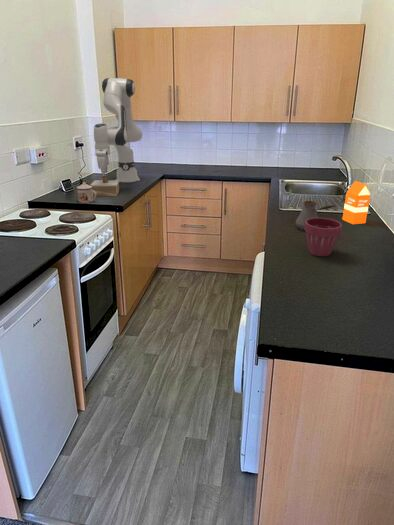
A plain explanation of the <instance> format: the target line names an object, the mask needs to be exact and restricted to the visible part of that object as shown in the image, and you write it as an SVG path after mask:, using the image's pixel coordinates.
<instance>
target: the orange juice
mask: <svg viewBox="0 0 394 525" xmlns="http://www.w3.org/2000/svg"><path fill="white" fill-rule="evenodd" d="M370 200H371V192H370V191H369V188H368V186H367V183H362V182H360V181H357V180H354V182H353V183H352V184H351V186H350V187H349V188H348V189H347V191H346V194H345V200H344V206H343V214H342V217H341V218H342V220H343V221H344V222H346V223H349V224H351V225H359V224H366V222H367V218H368V217H367V216H368V212H369V204H370Z"/></svg>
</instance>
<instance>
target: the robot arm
mask: <svg viewBox="0 0 394 525" xmlns="http://www.w3.org/2000/svg"><path fill="white" fill-rule="evenodd" d="M101 89H102V93H103V102H102V103H103V106H104V108H105V109H106V110H107V111H108V112H109V113H112V114H113V115H115V117H116V119H117V120H118V126H112V127H108V126H107V124H106V123H96V124H95V125H93V140H94V149H95V150H94V154H95V155H94V156H95V157H96V162H97V167H98V169H100V171H101V176H106V174H107V173H108V166H109V165H110V159H109V158H110V157H109V156H110V155H111V150H110V146H114V147H115V148H116V151H117V157H118V158H117V159H118V162H117V166H118V168H117V169H116V178H115V179H114V180H119V183H134V182H140V181H141V179H140V177H139V176H138V170H137V169H136V167H135V165H136V164H135V161H134V158H135V157H134V150H133V149H132V148H130V147H129V146H126V144H127V143H135V142H140V141H141V140H142V138H143V132H142V129H141V127H139V126H138V125H137V124H136V123H135V120H134V119H133V114H132V101H131V98H132V97H133V96H134V94H135V93H136V84H135V82H134V80H133V79H131V78H124V77H122V78H121V77H114V78H113V77H112V78H109V77H108V78H107V77H106V78H104V79H103V80H102V82H101Z"/></svg>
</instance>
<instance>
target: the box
mask: <svg viewBox="0 0 394 525" xmlns="http://www.w3.org/2000/svg"><path fill="white" fill-rule="evenodd" d="M92 190H93V191H95V192H96V197H117V196H118V195H119V193H120V182H119V183H118V185H117V186H92ZM92 193H93V197H94V196H95V194H94V192H92Z"/></svg>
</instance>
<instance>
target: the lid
mask: <svg viewBox="0 0 394 525" xmlns="http://www.w3.org/2000/svg"><path fill="white" fill-rule="evenodd" d="M101 178H102V179H101V180H100V179H99V180H98V179H97V180H95V179H94V180H93V181H92V183H90V186H117V185H118V183H119V184H120V182H119V180H115V179H109V178H108V175H101ZM108 179H109V180H108Z"/></svg>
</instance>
